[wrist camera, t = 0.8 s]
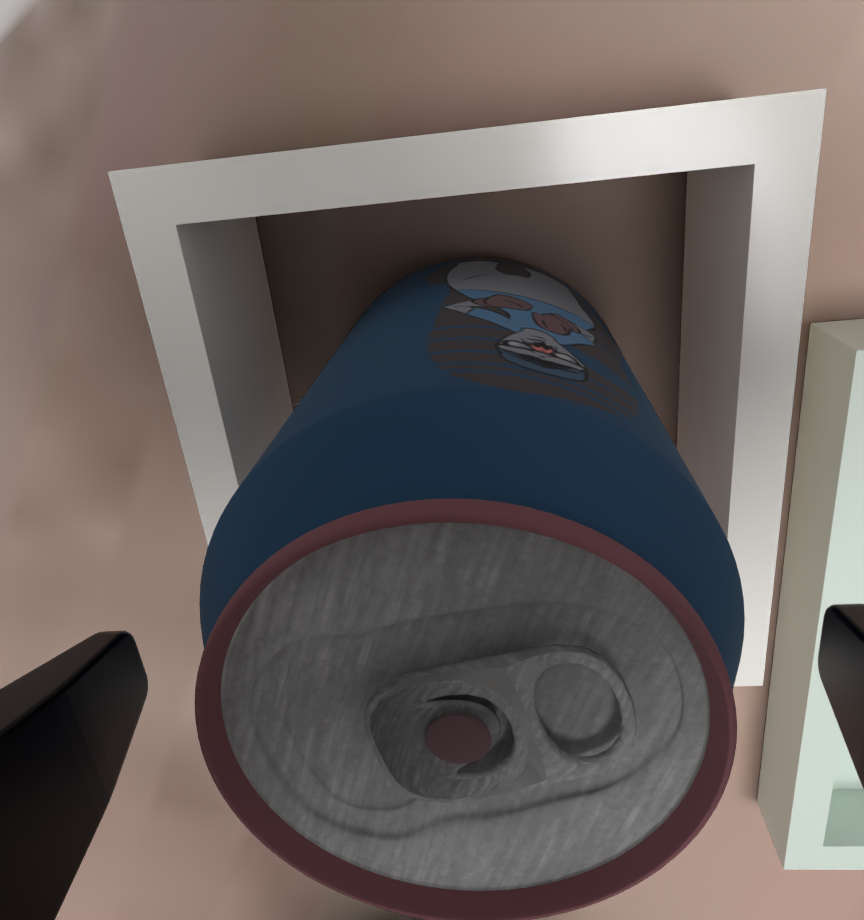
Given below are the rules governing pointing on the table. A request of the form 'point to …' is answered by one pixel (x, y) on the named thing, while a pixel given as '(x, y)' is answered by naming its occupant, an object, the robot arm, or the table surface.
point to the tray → (818, 615)
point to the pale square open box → (495, 169)
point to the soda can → (471, 614)
